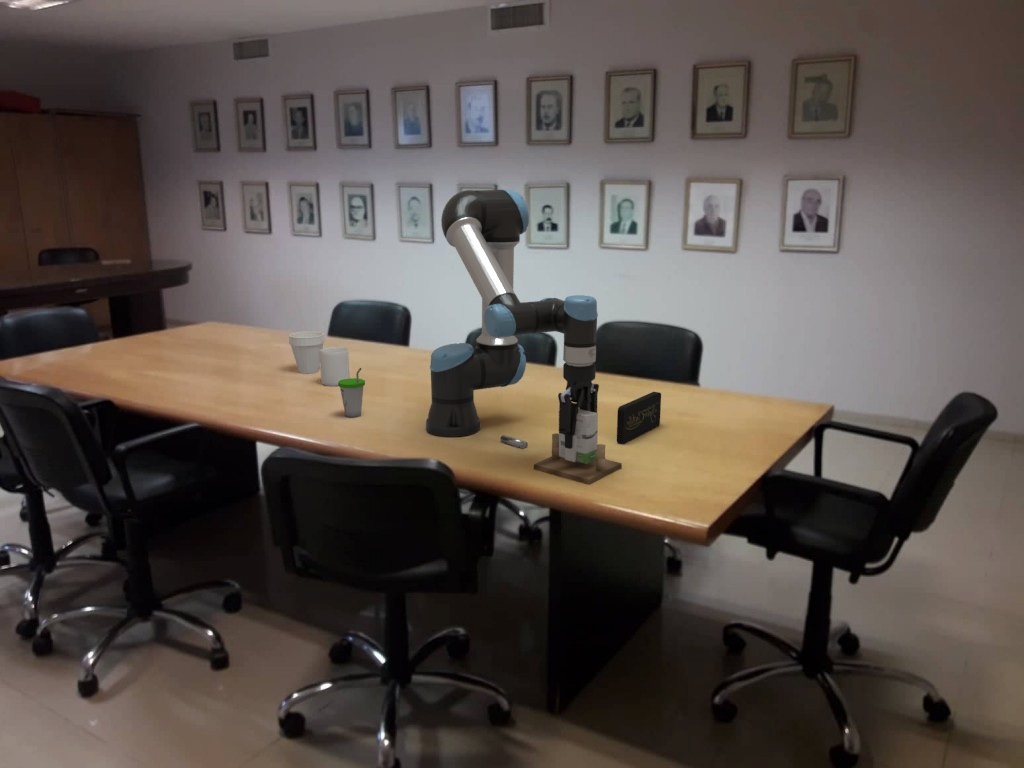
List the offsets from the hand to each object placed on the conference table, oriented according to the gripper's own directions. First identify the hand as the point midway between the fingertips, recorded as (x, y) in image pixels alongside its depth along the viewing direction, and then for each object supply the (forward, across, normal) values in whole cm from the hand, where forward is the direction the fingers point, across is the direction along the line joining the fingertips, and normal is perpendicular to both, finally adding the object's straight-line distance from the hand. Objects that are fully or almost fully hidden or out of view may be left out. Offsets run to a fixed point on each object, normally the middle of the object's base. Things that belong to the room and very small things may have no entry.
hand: (577, 456), depth 195 cm
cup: (+3, -5, +77) cm, 77 cm away
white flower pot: (+3, +21, +133) cm, 135 cm away
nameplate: (+3, +33, +2) cm, 33 cm away
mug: (+3, +16, +113) cm, 114 cm away
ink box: (0, 0, 0) cm, 0 cm away
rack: (+3, 0, 0) cm, 3 cm away
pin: (+2, +5, +23) cm, 24 cm away
